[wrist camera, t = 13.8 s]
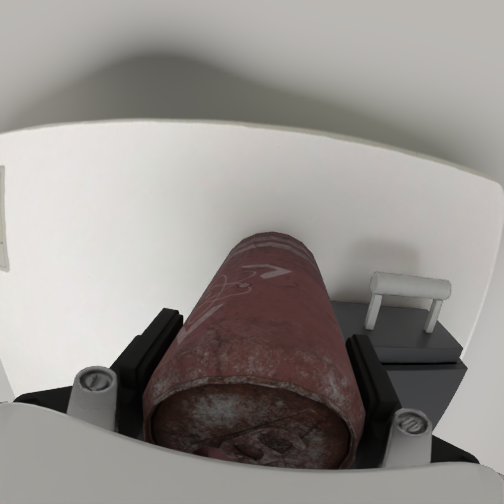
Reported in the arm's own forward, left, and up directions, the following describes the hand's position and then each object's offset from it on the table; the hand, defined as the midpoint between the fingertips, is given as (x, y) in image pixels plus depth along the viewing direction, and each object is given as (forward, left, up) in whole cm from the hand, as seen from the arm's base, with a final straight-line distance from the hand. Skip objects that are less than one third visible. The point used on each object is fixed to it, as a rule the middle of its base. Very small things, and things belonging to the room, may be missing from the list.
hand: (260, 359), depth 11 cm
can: (0, 0, -9) cm, 9 cm away
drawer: (-4, +11, -12) cm, 17 cm away
